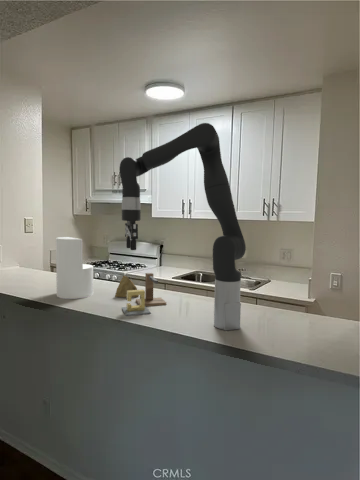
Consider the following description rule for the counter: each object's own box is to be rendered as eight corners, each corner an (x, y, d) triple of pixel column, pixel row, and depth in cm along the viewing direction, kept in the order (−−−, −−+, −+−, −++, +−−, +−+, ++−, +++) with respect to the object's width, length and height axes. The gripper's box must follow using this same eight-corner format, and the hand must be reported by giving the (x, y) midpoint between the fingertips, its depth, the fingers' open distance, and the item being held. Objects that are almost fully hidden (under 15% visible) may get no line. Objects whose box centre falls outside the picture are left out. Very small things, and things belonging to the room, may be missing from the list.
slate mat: (150, 313, 133) (150, 312, 133) (126, 315, 130) (126, 314, 130) (144, 306, 143) (144, 305, 143) (121, 308, 140) (121, 307, 140)
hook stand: (169, 307, 142) (170, 278, 141) (142, 309, 138) (142, 279, 137) (160, 299, 156) (161, 272, 155) (135, 301, 152) (135, 273, 151)
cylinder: (65, 300, 151) (64, 239, 148) (51, 293, 164) (50, 237, 161) (99, 295, 162) (99, 238, 160) (84, 288, 175) (83, 236, 173)
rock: (144, 291, 162) (130, 285, 168) (138, 279, 157) (124, 274, 163) (130, 307, 157) (116, 301, 162) (124, 295, 151) (109, 289, 157)
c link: (144, 310, 136) (144, 291, 135) (127, 311, 134) (127, 292, 133) (143, 308, 139) (143, 289, 138) (126, 309, 137) (126, 290, 136)
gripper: (144, 208, 127) (144, 250, 128) (136, 209, 140) (136, 247, 141) (125, 208, 124) (125, 251, 126) (118, 209, 138) (119, 247, 139)
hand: (131, 249), depth 133 cm, fingers open, 8 cm apart
